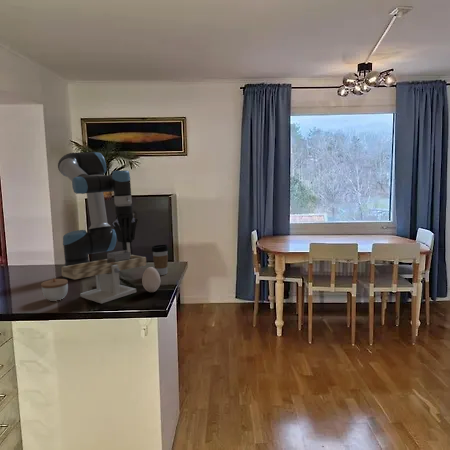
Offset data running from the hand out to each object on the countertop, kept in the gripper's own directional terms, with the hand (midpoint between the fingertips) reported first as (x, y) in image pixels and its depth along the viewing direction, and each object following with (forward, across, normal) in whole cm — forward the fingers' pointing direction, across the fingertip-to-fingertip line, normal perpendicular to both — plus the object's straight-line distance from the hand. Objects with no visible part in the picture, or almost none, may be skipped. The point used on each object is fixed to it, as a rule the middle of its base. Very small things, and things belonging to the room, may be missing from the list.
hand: (127, 256), depth 189 cm
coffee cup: (+15, +24, +6) cm, 29 cm away
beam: (+3, -12, 0) cm, 12 cm away
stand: (+15, -12, 0) cm, 19 cm away
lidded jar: (+15, -28, +14) cm, 35 cm away
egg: (+15, +1, -14) cm, 21 cm away
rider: (+2, -5, 0) cm, 6 cm away
